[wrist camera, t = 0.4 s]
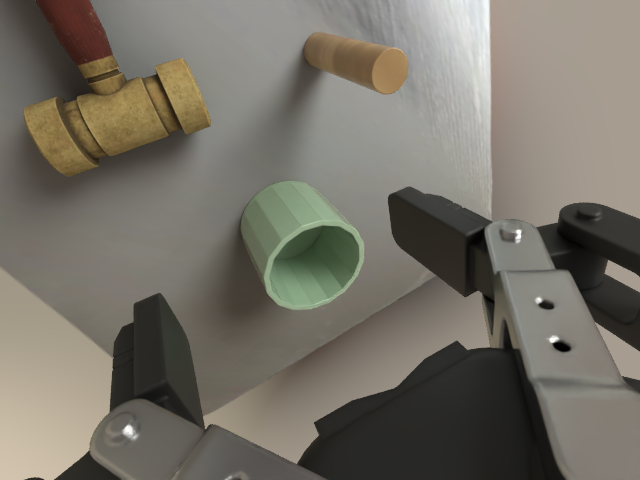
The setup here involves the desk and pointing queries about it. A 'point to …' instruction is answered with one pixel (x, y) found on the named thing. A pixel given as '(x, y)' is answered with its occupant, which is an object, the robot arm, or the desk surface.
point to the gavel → (108, 98)
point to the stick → (358, 61)
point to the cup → (300, 245)
